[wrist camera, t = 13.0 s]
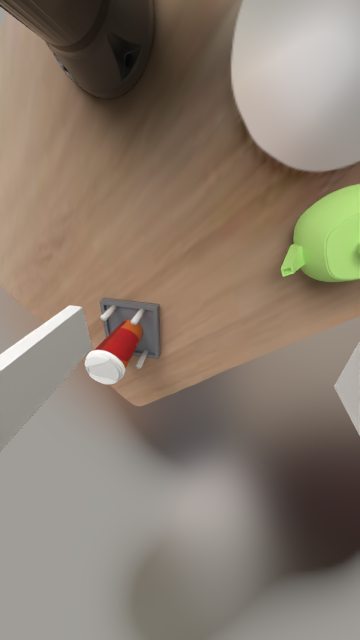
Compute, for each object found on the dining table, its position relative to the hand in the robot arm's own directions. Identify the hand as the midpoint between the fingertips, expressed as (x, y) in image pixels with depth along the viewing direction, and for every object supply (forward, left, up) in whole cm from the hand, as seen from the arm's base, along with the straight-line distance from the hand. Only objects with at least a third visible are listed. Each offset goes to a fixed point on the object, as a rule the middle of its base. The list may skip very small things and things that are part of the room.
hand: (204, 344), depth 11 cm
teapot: (-1, +18, -35) cm, 39 cm away
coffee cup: (+24, -20, -34) cm, 46 cm away
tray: (+24, -20, -35) cm, 47 cm away
